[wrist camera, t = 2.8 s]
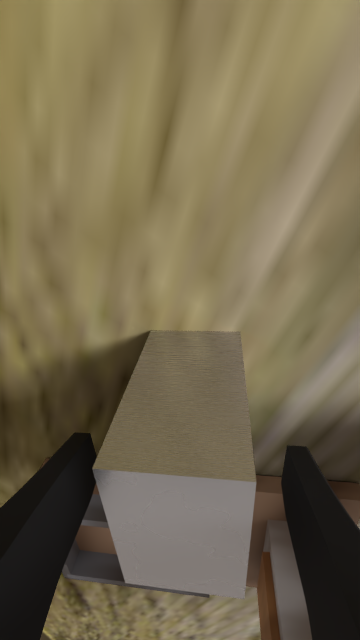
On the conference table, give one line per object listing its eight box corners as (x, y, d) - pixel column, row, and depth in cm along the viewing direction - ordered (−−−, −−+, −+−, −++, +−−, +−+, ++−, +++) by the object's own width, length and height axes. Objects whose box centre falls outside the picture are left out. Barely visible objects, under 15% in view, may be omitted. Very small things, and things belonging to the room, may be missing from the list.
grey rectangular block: (240, 331, 13) (256, 482, 7) (235, 434, 16) (243, 604, 10) (151, 330, 14) (92, 468, 7) (162, 430, 16) (126, 588, 10)
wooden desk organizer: (358, 483, 16) (460, 722, 9) (324, 579, 21) (374, 781, 14) (45, 458, 19) (-59, 632, 12) (81, 549, 24) (23, 709, 17)
